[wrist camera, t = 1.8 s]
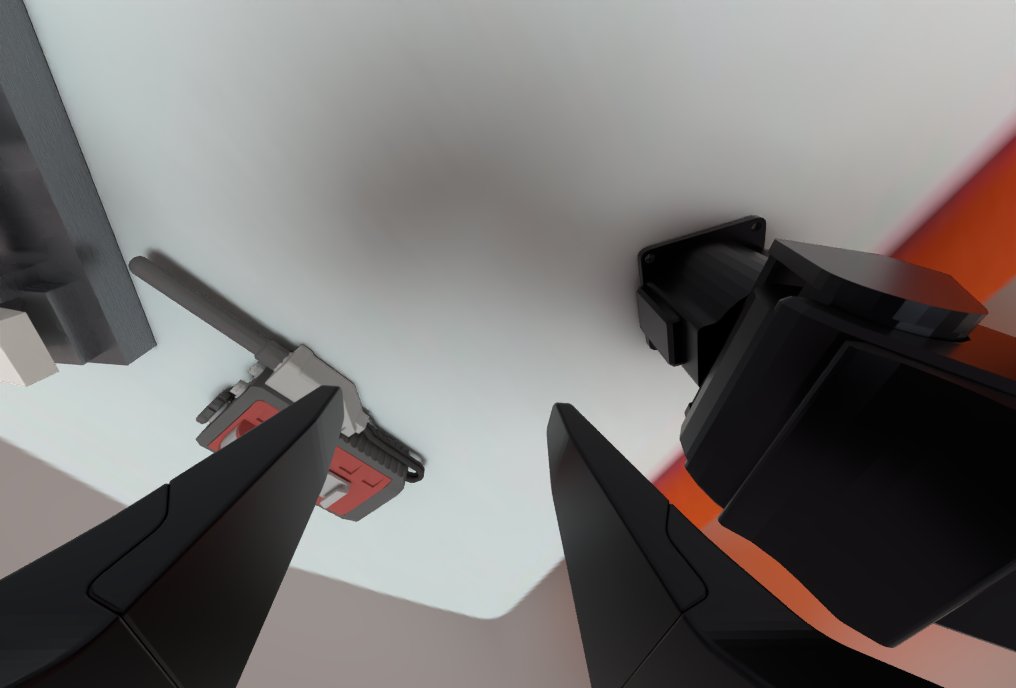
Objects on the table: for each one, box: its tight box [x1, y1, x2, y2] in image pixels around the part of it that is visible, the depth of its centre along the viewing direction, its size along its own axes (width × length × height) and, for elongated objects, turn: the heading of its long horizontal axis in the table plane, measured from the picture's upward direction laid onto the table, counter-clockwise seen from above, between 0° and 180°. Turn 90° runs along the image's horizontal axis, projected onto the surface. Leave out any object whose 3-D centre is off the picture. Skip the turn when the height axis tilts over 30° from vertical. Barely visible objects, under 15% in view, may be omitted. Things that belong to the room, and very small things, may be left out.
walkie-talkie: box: [129, 256, 425, 522], centre depth 22 cm, size 9×4×20 cm
